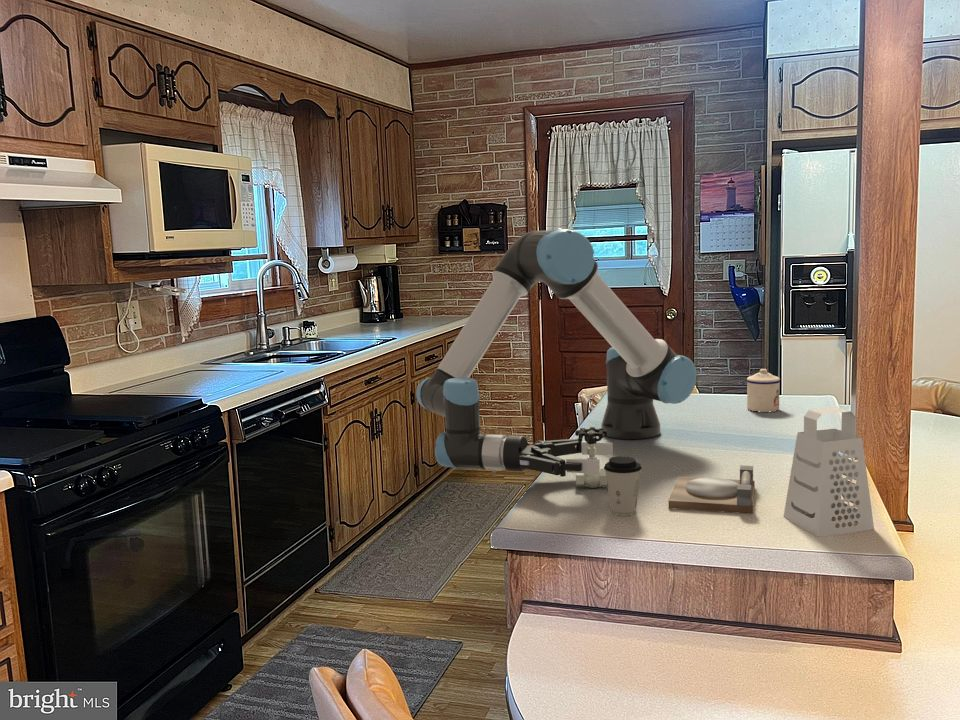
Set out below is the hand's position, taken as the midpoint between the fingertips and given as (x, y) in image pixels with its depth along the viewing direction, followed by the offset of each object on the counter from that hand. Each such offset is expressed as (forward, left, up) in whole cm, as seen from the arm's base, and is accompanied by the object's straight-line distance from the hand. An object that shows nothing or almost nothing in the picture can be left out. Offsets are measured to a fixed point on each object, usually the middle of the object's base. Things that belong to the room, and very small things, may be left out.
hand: (606, 457), depth 168 cm
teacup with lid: (-83, +29, -7) cm, 88 cm away
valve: (0, -3, -7) cm, 7 cm away
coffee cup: (+14, +6, -7) cm, 16 cm away
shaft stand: (+2, +21, -6) cm, 22 cm away
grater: (+12, +41, -7) cm, 43 cm away
